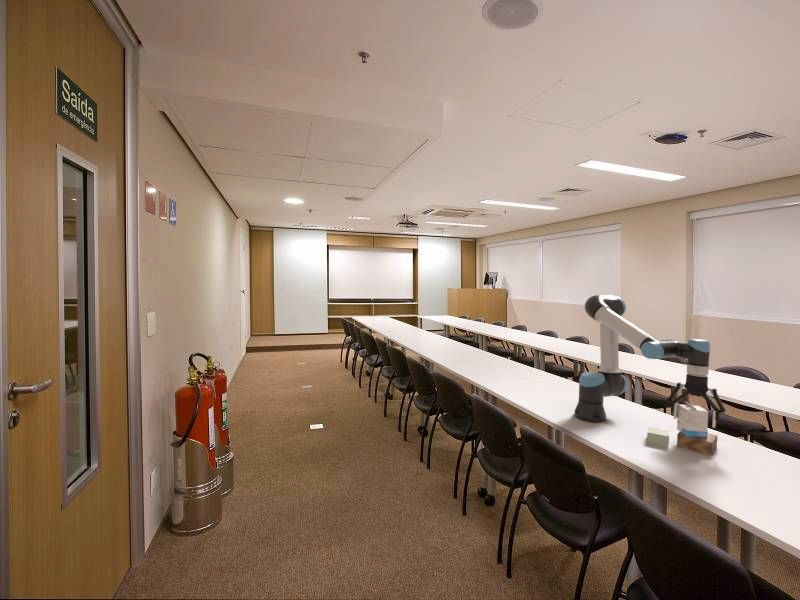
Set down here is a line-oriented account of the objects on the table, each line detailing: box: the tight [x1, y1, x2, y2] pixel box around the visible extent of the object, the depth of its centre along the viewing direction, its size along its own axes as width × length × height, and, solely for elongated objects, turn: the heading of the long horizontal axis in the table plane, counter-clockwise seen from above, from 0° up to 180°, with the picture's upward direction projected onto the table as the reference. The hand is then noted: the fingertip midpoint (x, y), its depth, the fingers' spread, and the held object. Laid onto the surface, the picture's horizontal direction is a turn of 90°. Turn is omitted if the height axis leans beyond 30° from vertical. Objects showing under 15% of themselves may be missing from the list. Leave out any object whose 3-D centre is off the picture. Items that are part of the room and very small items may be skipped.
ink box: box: [676, 401, 709, 438], centre depth 169 cm, size 9×8×13 cm
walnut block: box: [676, 431, 718, 457], centre depth 168 cm, size 12×12×6 cm
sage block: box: [646, 426, 670, 448], centre depth 172 cm, size 8×8×5 cm
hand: (694, 422), depth 168 cm, fingers open, 13 cm apart
